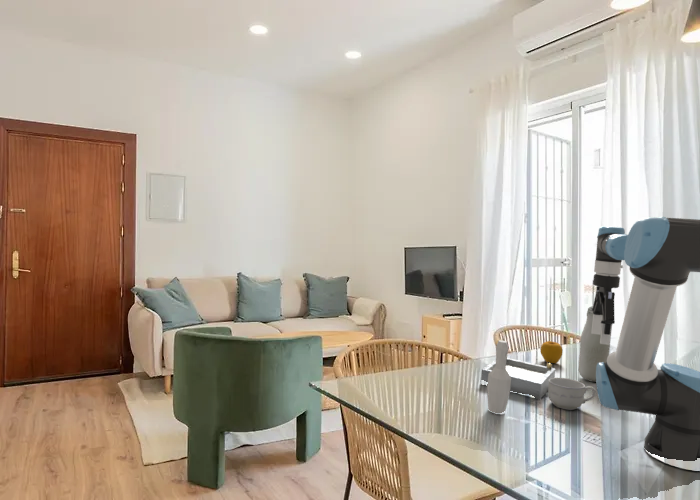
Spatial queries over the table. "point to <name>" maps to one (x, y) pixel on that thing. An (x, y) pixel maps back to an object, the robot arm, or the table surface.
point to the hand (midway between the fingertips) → (600, 338)
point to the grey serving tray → (525, 376)
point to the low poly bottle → (499, 381)
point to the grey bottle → (591, 350)
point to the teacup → (568, 393)
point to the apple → (551, 351)
